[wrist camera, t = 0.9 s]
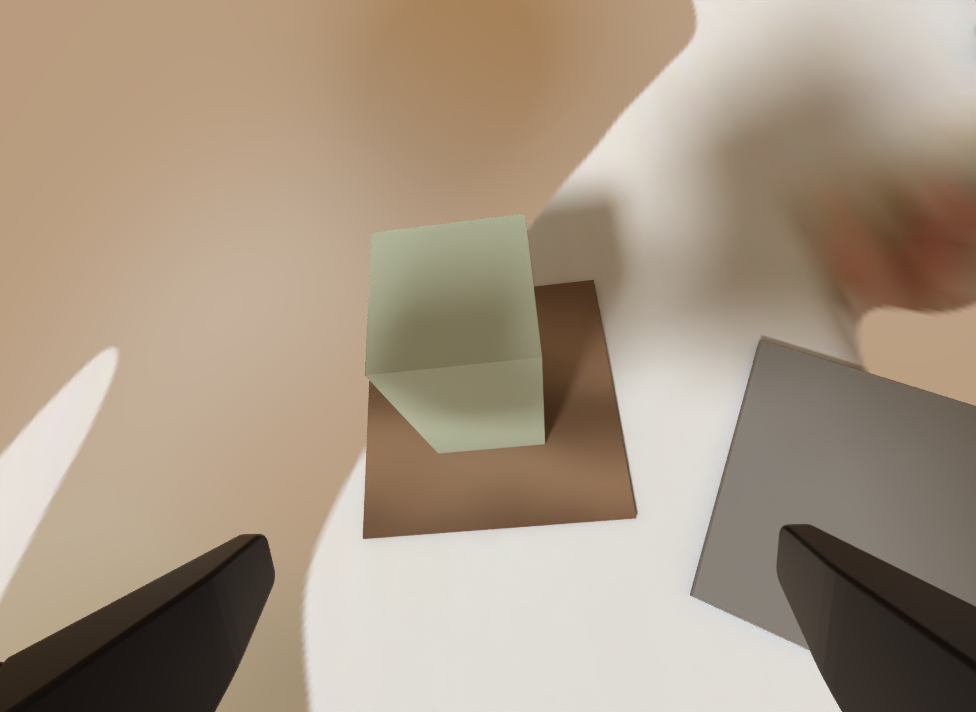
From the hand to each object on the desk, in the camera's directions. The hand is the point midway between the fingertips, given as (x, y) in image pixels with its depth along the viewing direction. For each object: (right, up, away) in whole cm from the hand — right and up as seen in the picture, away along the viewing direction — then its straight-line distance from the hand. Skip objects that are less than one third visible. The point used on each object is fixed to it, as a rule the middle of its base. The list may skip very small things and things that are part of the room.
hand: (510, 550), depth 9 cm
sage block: (0, +1, +15) cm, 15 cm away
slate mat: (+16, -3, +11) cm, 20 cm away
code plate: (0, +1, +15) cm, 15 cm away
